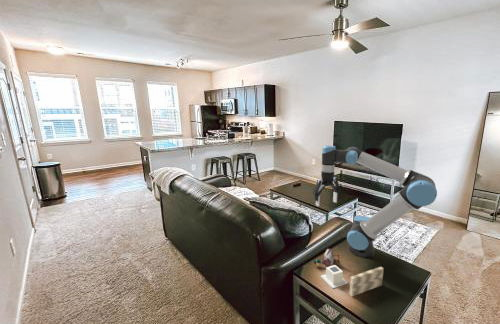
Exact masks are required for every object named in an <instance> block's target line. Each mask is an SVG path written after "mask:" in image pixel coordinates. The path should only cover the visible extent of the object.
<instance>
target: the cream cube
mask: <svg viewBox="0 0 500 324" xmlns="http://www.w3.org/2000/svg"><path fill="white" fill-rule="evenodd" d="M343 273H344V271H343V270H342V269H341V268H339V266H337V265H336V264H333V265H332V266H326V267H325V274H326V278H327V279H328V280H329V281H330V282H331V283H332V284H336V283H339V282H342V278H344V277H343V275H344V274H343Z"/></svg>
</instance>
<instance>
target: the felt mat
mask: <svg viewBox="0 0 500 324" xmlns="http://www.w3.org/2000/svg"><path fill="white" fill-rule="evenodd" d="M320 278H321V279H322V280H323V281H325V283H326V284H327V285H329V287H331V289H336V288H338V287H341V286H345V285H347V284H349V282H348V281H347V280H345V278H344V277H342V282H339V283H336V284H332V283H331V282H330V281H329V280H328V279H327V278H326V273H325V274H322V275H320Z"/></svg>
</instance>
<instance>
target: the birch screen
mask: <svg viewBox="0 0 500 324" xmlns="http://www.w3.org/2000/svg"><path fill="white" fill-rule="evenodd" d="M384 269H385V268H384V267H382V266H378V267H375V268H373V269H369V270H366V271H363V272H361V273H357V274H355V275H352V276H350V280H349V281H350V282H349V296H350V297H355V296H357V295H359V294H363V293H365V292H367V291H370V290H373V289H375V288H379V287H381V286H382V285H383V280H384V279H383V278H384V277H383V276H384Z"/></svg>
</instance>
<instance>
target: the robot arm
mask: <svg viewBox="0 0 500 324" xmlns="http://www.w3.org/2000/svg"><path fill="white" fill-rule="evenodd" d="M335 163H340V164H347V165H355V164H358V165H361V166H363V167H365V168H368V169H370V170H371V171H374V172H377V173H378V174H381V175H383V176H385V177H388V178H390V179H392V180H394V181H396V182H398V183H400V185H401V186H403V187H404V188H402V189H401V190H399V191H398V196H396V197H395V198H394V199H393V200H392V201H390V202H389V203H387V204H386V205H385V206H384V207H383V208H381V209H379V211H378V212H376V213H375V214H374V215H372V216H370V217H369V216H365V215H355V216H354V218H353V223H352V224H353V225H352V226H351V227H350V229H349V231H348V232H347V236H346V241H347V242H348V249H349V251H350V253H352V254H353V255H356V256H357V257H362V258H372V257H374V255H375V253H376V251H375V246H374V242H373V241H375V240H376V239H377V238H378V234H379V233H381V232H382V231H384V230H385V229H387V228H388V227H389V226H391V225H392V224H394V223H395V222H397V221H398V220H399V219H400V218H403V217H404V216H405V215H407V214H408V213H410V212H411V211H412V210H420V209H421V208H423V207H427V206H429V205H432V204H433V203H434V202H435V201H436V198H437V197H438V191H437V188H436V183H435V181H434V180H433V179H432V178H430V177H429V176H427V175H426V174H422V173H420V172H417V171H415V170H412V169H404V168H402V167H400V166H397V165H395V164H393V163H391V162H388V161H386V160H383V159H381V158H378V157H376V156H374V155H372V154H369V153H367V152H365V151H362V150H359V148H357V147H355V146H349V147H348V148H346V149H336V146H335V145H323V147H322V152H321V173H320V174H321V175H320V176H321V179H317V180H316V184H315V186H314V188H313V191H312V193H311V194H312V196H314V201H315V206H317V207H320V205H321V204H320V202H321V201H320V199H321V198H320V197H321V196H320V194H322V191H323V190H324V188H326V187H331V188H332V190H333V194H332V195H333V197H332V202H333V203H335V204H337V203H338V197H339V194H340V192H341V191H342V189H341V186H340V183H339V181H338V177H337V176H335V165H336V164H335Z"/></svg>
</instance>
